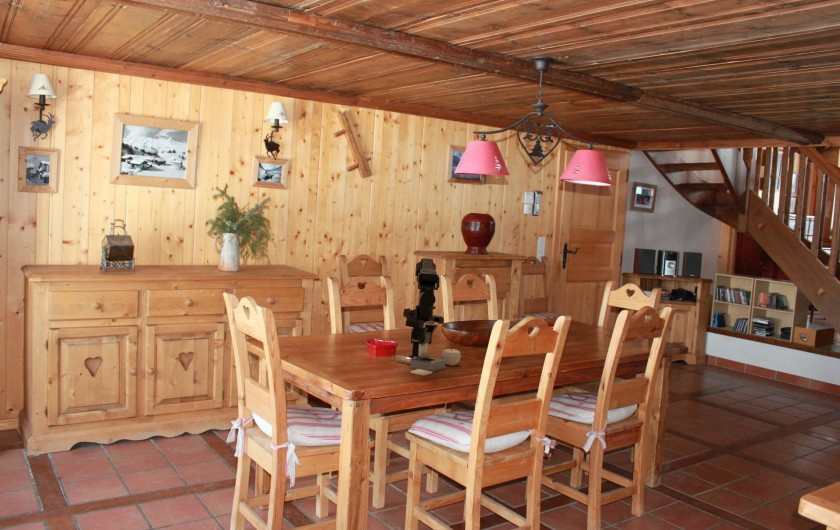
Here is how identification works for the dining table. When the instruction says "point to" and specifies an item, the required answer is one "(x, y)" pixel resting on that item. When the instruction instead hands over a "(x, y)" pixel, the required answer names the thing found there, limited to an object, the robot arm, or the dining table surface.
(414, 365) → the block
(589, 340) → the dining table surface
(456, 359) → the apple
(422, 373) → the pad
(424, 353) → the dark square post
